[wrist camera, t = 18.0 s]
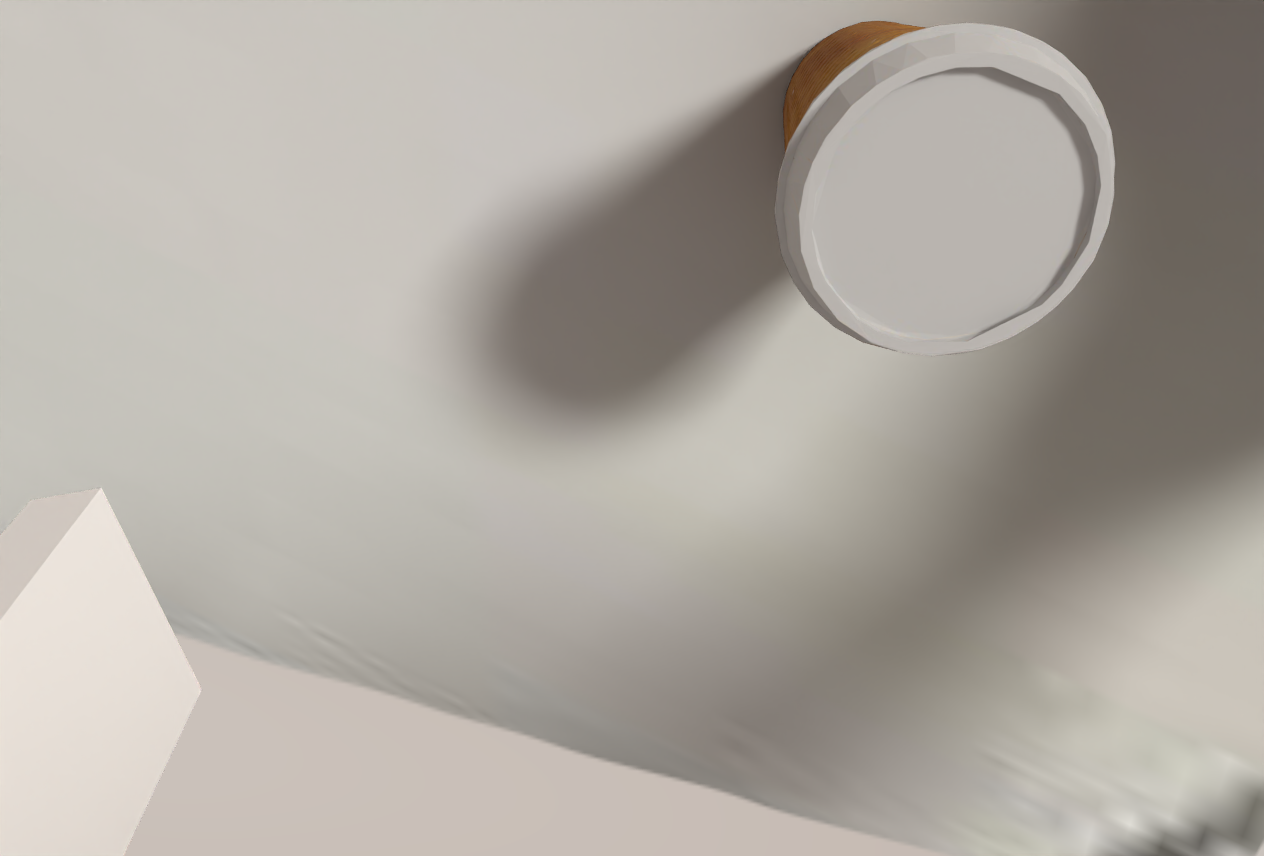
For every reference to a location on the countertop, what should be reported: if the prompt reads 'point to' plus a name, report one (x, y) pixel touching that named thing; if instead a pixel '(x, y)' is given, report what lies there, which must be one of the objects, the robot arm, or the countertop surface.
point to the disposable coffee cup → (940, 183)
